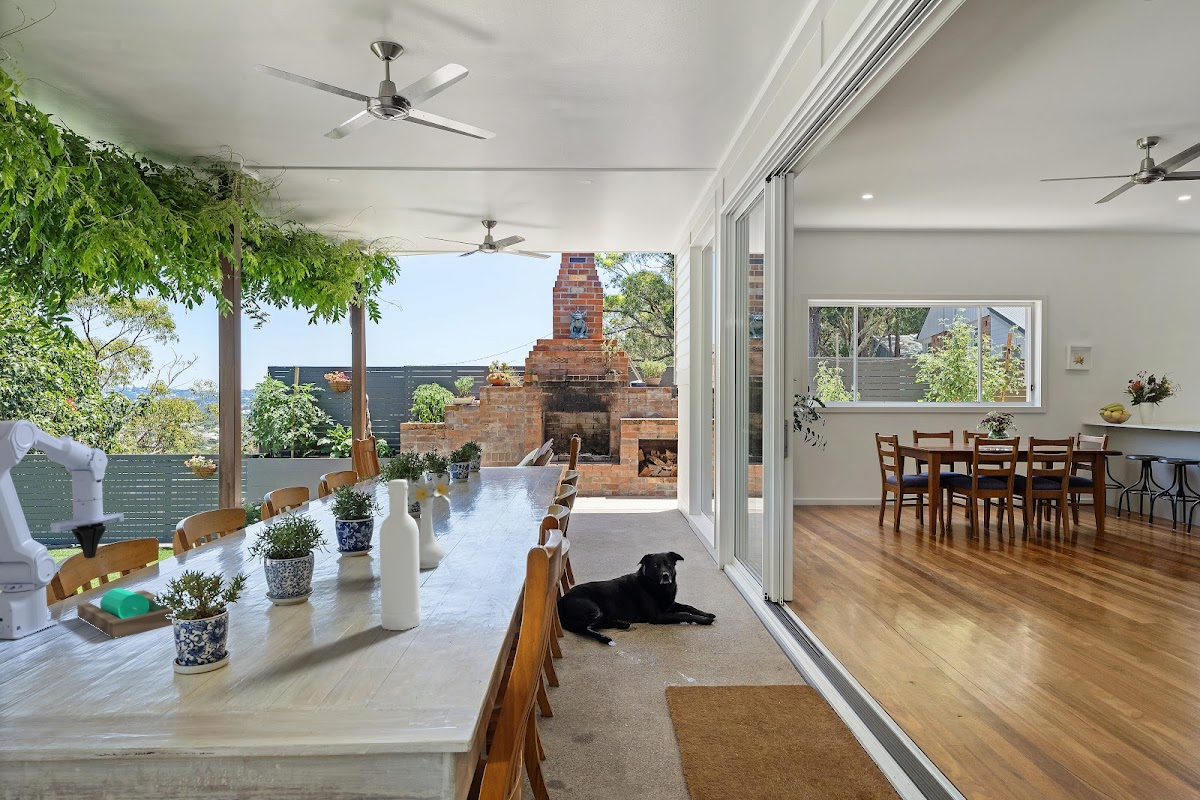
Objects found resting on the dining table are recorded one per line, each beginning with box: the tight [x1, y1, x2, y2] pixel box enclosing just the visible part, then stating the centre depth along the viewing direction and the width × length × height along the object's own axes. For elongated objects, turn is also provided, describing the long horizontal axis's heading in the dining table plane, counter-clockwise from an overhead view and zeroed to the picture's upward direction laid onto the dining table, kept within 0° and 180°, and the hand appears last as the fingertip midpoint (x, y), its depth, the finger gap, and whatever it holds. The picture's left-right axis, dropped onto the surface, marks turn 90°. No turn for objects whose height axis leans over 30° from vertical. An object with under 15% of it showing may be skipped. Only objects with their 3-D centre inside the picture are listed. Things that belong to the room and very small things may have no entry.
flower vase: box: [387, 473, 458, 570], centre depth 198 cm, size 13×18×25 cm
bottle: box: [379, 478, 422, 631], centre depth 151 cm, size 8×8×30 cm
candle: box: [100, 587, 149, 619], centre depth 157 cm, size 6×6×12 cm
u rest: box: [76, 589, 173, 639], centre depth 157 cm, size 22×13×3 cm, turn 51°
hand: (89, 557), depth 171 cm, fingers closed
